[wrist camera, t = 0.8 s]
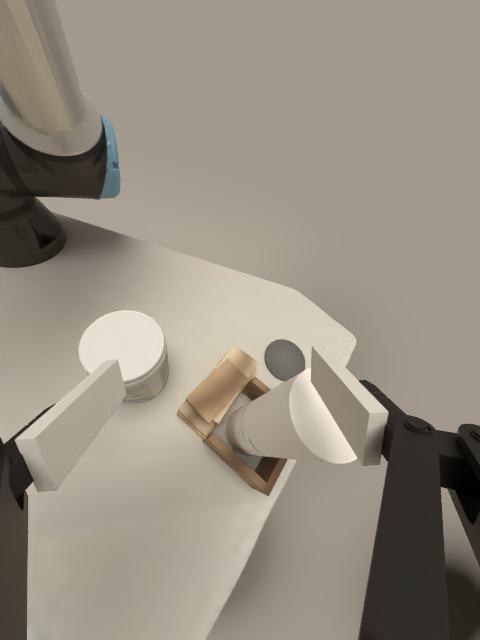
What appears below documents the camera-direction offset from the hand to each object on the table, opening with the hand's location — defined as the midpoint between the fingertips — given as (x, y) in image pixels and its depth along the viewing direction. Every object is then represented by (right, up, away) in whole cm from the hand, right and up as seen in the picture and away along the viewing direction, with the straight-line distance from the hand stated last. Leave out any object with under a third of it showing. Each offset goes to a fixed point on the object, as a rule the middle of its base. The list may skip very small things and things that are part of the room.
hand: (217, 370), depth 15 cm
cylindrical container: (+2, -16, +24) cm, 29 cm away
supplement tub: (-16, -6, +24) cm, 29 cm away
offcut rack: (+2, -13, +25) cm, 28 cm away
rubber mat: (+11, -5, +32) cm, 34 cm away
